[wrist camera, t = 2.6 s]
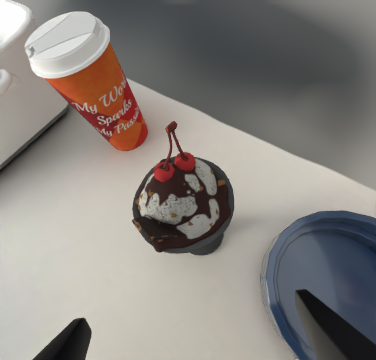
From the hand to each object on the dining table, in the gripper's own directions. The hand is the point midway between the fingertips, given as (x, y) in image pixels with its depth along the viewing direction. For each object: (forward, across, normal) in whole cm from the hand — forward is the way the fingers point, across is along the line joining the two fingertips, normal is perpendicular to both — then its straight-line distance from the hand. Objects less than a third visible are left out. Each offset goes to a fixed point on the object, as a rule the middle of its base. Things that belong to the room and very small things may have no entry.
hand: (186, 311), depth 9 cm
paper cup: (+24, +8, -6) cm, 26 cm away
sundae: (+13, 0, +5) cm, 14 cm away
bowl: (+8, -11, +10) cm, 16 cm away
